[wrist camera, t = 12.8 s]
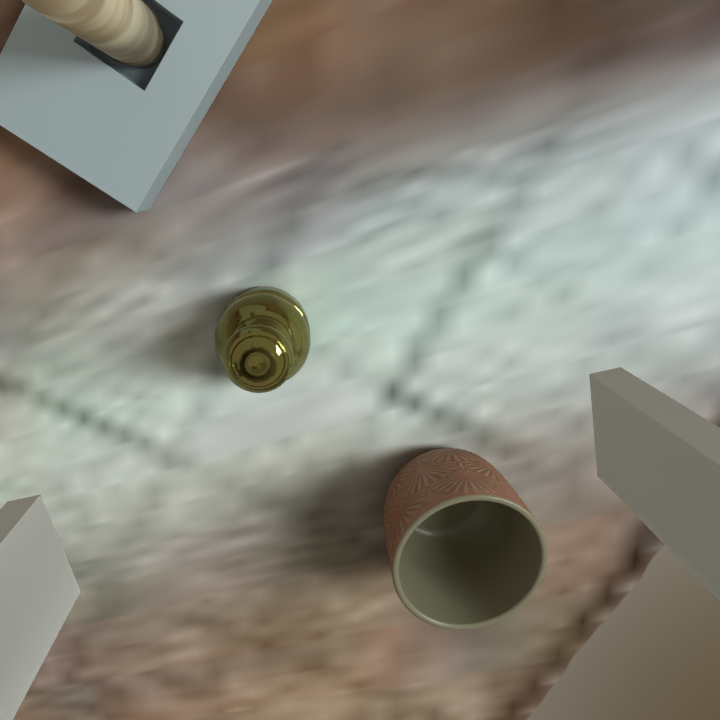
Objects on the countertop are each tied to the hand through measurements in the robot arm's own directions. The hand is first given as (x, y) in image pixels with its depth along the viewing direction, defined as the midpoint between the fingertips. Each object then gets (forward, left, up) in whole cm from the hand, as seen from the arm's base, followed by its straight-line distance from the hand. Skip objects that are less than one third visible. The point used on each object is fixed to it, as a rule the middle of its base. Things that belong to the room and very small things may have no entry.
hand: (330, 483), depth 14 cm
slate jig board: (-14, +14, -37) cm, 42 cm away
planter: (+15, -20, -37) cm, 45 cm away
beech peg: (-14, +14, -36) cm, 41 cm away
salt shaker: (-3, -6, -37) cm, 38 cm away
